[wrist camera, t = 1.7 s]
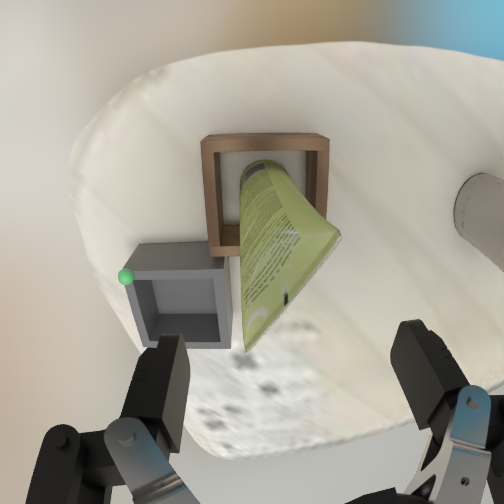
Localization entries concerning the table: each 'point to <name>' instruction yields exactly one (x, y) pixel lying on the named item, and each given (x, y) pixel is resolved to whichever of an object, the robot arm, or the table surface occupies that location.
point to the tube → (276, 245)
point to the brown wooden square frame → (316, 147)
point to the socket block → (180, 294)
